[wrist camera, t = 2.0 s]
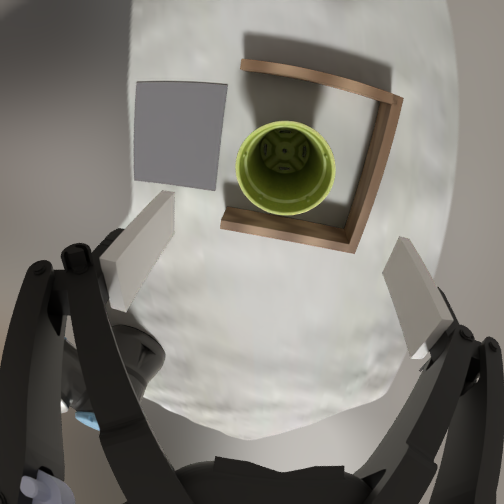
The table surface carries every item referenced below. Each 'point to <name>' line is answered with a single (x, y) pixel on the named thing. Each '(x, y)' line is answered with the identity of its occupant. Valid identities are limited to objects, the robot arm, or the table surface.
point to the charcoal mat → (178, 133)
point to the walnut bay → (368, 181)
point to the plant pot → (285, 181)
